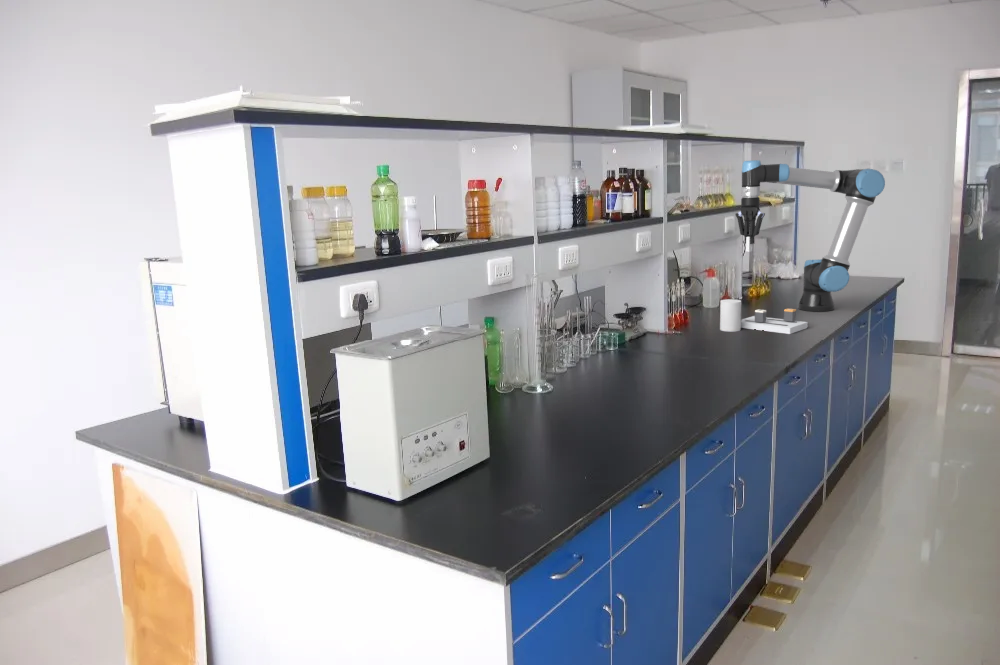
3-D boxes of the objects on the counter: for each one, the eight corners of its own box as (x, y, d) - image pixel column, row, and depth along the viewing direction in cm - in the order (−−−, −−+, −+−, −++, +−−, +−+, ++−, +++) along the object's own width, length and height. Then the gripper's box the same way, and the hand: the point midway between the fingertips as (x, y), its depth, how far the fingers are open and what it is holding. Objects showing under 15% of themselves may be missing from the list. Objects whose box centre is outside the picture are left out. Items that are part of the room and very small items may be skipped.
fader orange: (787, 319, 304) (787, 308, 303) (795, 320, 301) (796, 309, 300) (783, 320, 302) (784, 309, 301) (792, 321, 300) (792, 310, 299)
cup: (738, 327, 307) (738, 299, 305) (742, 331, 299) (743, 302, 297) (718, 327, 308) (718, 299, 306) (722, 331, 300) (722, 302, 298)
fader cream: (758, 320, 305) (758, 309, 304) (766, 321, 303) (766, 309, 302) (754, 321, 303) (754, 310, 302) (762, 322, 301) (763, 310, 300)
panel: (753, 321, 318) (753, 315, 317) (807, 327, 300) (807, 321, 300) (735, 327, 308) (735, 320, 308) (789, 334, 291) (790, 327, 290)
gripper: (732, 197, 320) (731, 251, 324) (760, 197, 310) (758, 252, 315) (741, 196, 324) (740, 250, 329) (768, 196, 315) (767, 251, 320)
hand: (749, 251), depth 322 cm, fingers closed
